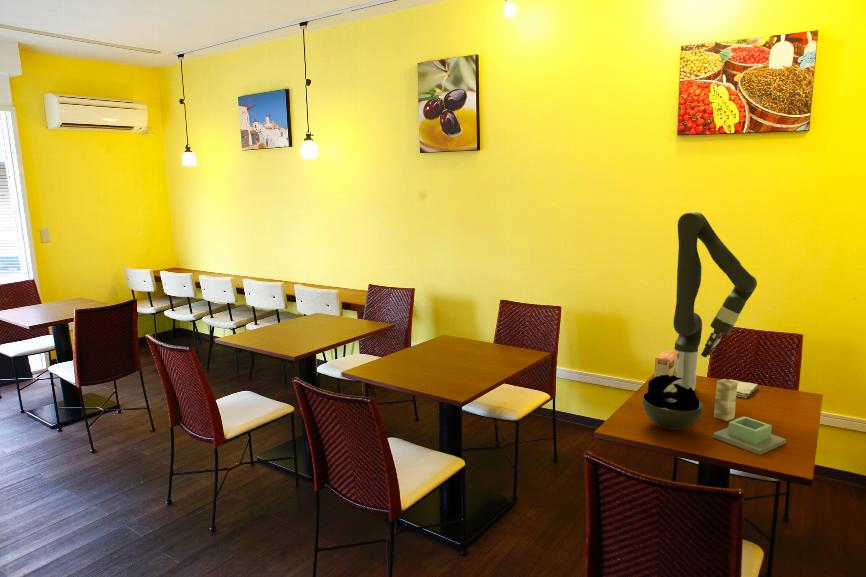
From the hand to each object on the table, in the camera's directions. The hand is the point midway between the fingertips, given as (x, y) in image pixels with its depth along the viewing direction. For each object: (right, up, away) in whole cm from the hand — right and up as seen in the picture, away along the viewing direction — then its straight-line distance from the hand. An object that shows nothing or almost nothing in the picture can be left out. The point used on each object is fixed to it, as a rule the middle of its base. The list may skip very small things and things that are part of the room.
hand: (705, 355), depth 231 cm
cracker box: (-18, -19, -4) cm, 27 cm away
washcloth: (+20, -17, +13) cm, 29 cm away
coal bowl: (-25, -23, -25) cm, 42 cm away
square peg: (-1, -21, -17) cm, 27 cm away
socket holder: (-2, -25, -36) cm, 44 cm away
